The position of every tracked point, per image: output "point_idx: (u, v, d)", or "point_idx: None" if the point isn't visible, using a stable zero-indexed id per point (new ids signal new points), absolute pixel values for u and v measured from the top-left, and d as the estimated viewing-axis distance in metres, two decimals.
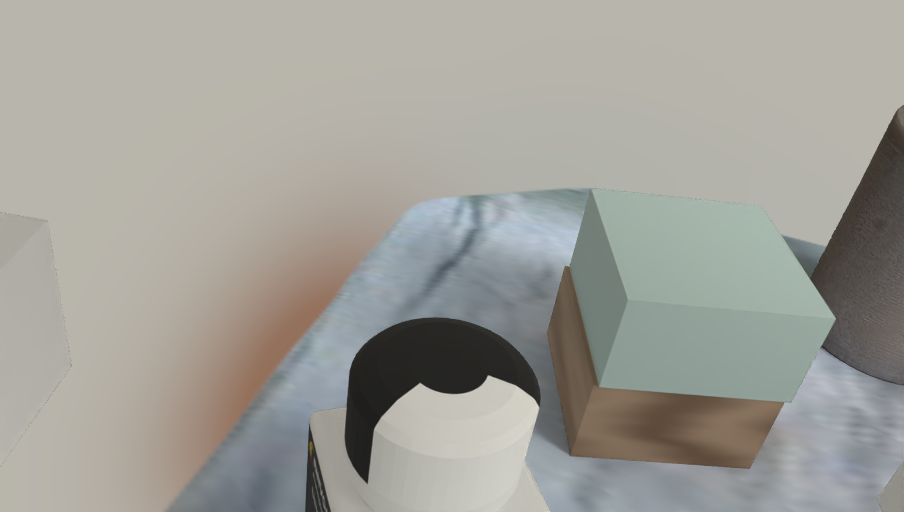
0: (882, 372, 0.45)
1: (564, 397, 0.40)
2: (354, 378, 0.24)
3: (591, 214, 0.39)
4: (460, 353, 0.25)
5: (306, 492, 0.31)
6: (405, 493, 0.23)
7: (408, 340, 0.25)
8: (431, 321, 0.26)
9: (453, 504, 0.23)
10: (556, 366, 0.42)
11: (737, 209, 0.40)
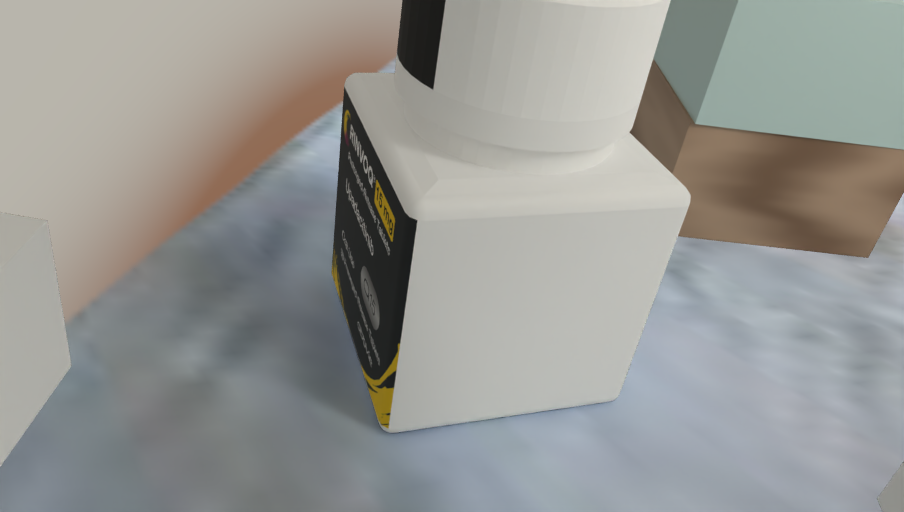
0: None
1: None
2: None
3: None
4: None
5: (336, 207, 0.24)
6: (490, 84, 0.16)
7: None
8: None
9: (556, 104, 0.17)
10: None
11: None
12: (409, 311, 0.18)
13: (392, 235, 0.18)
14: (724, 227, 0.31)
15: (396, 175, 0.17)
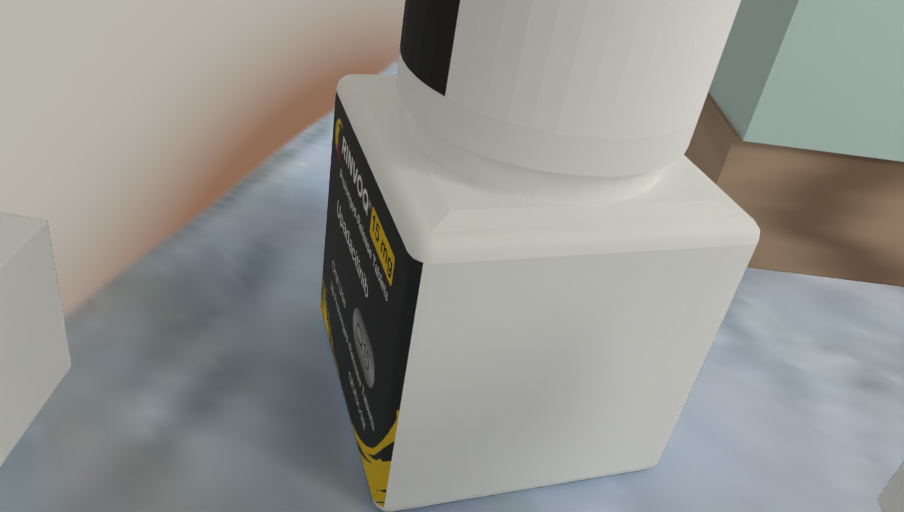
0: None
1: None
2: None
3: None
4: None
5: (326, 232, 0.20)
6: (518, 90, 0.13)
7: None
8: None
9: (602, 117, 0.13)
10: None
11: None
12: (411, 372, 0.14)
13: (392, 277, 0.14)
14: (768, 255, 0.27)
15: (397, 203, 0.14)
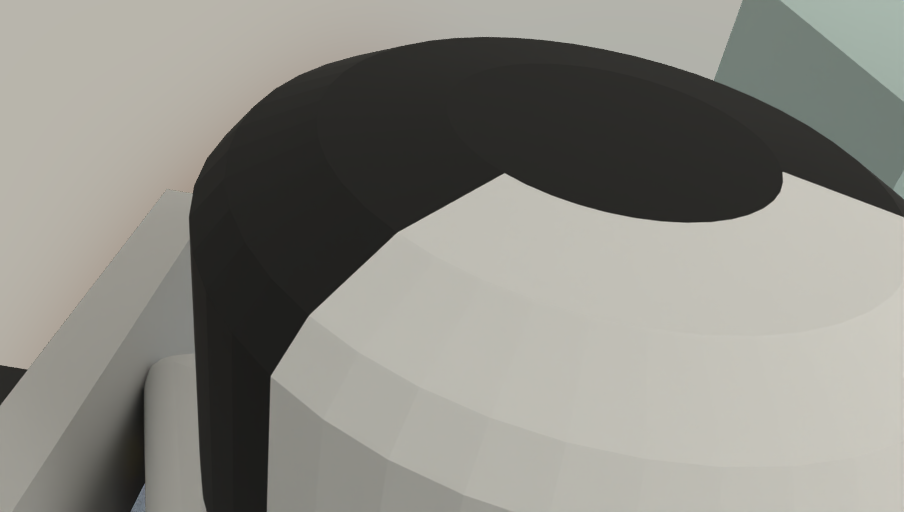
0: None
1: None
2: (215, 170, 0.06)
3: (756, 21, 0.21)
4: (646, 105, 0.06)
5: None
6: None
7: (443, 62, 0.07)
8: None
9: None
10: None
11: None
12: None
13: None
14: None
15: None
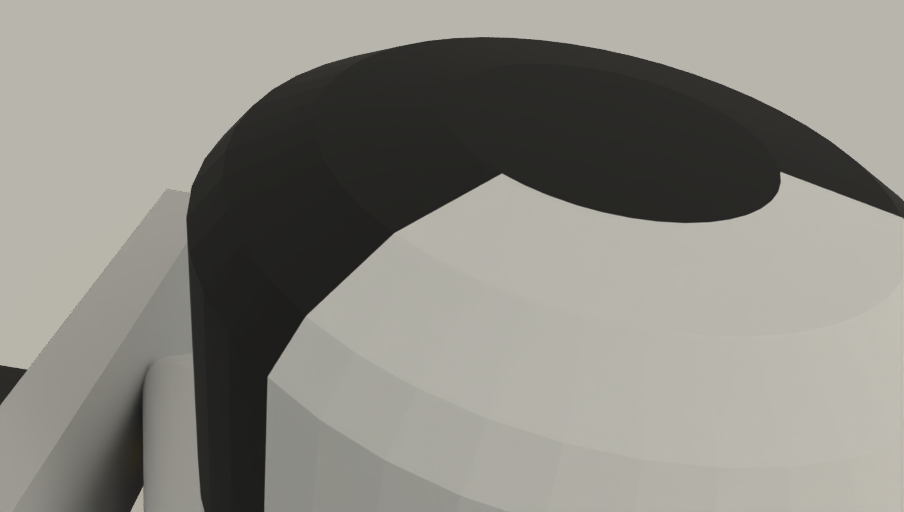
0: None
1: None
2: (212, 171, 0.06)
3: None
4: (644, 105, 0.06)
5: None
6: None
7: (440, 62, 0.07)
8: None
9: None
10: None
11: None
12: None
13: None
14: None
15: None
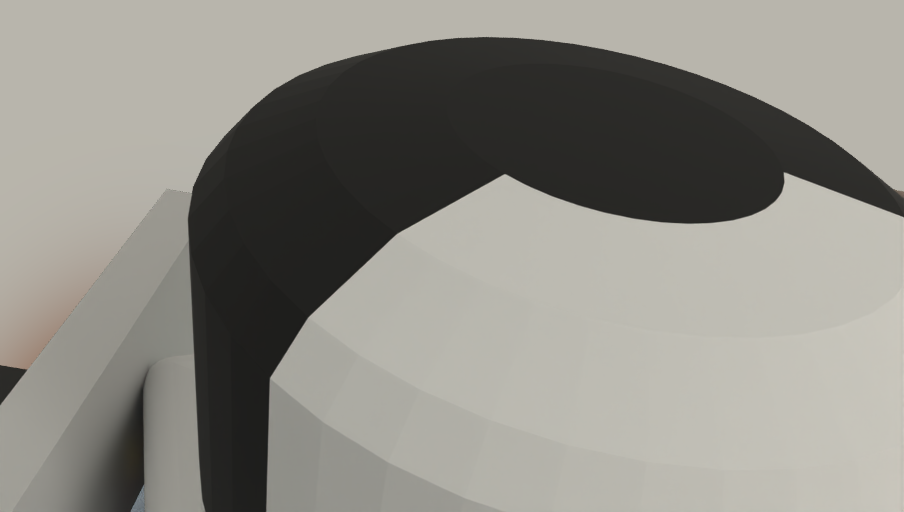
0: None
1: None
2: (214, 171, 0.06)
3: None
4: (647, 105, 0.06)
5: None
6: None
7: (443, 62, 0.07)
8: None
9: None
10: None
11: None
12: None
13: None
14: None
15: None
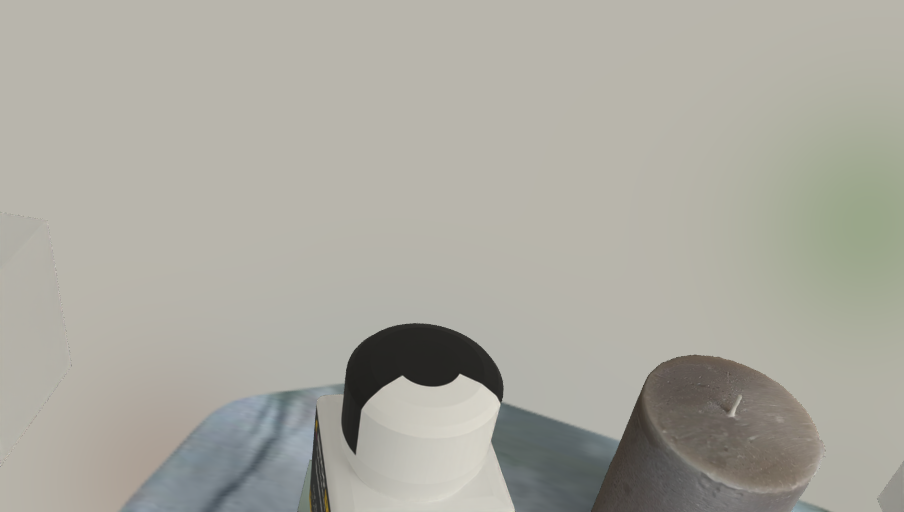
0: None
1: None
2: (350, 368, 0.29)
3: None
4: (439, 354, 0.30)
5: None
6: (384, 465, 0.29)
7: (398, 340, 0.30)
8: (420, 326, 0.31)
9: (422, 477, 0.29)
10: None
11: None
12: None
13: None
14: None
15: (332, 501, 0.30)
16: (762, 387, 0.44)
